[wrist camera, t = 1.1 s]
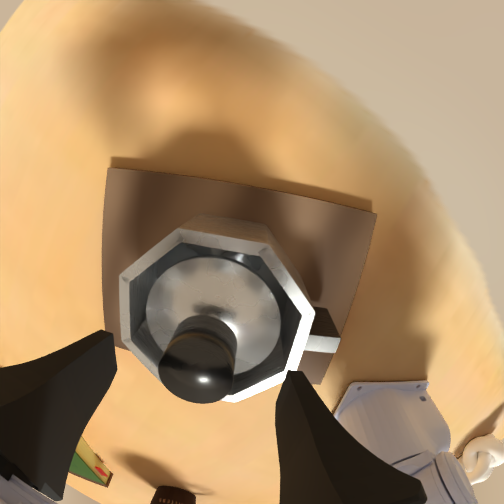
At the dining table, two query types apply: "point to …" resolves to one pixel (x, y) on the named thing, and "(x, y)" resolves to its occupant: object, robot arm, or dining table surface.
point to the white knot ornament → (481, 457)
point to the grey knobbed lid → (210, 325)
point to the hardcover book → (89, 465)
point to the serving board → (243, 208)
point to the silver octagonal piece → (253, 255)
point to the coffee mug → (172, 496)
